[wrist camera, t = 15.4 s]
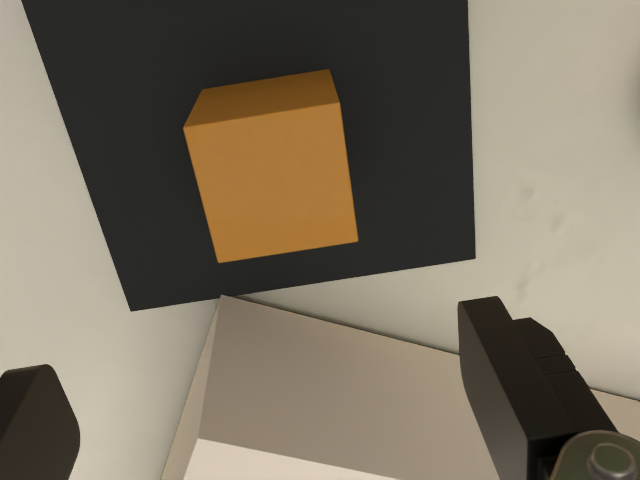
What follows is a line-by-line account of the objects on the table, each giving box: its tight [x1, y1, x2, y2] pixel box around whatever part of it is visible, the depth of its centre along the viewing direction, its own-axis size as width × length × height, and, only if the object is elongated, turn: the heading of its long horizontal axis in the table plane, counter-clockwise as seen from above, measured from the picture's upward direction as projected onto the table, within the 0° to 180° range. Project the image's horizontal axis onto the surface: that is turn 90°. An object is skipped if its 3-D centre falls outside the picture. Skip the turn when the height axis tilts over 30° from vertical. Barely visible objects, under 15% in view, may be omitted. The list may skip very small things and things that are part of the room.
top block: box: [183, 69, 358, 263], centre depth 22 cm, size 5×5×5 cm
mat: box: [21, 0, 476, 311], centre depth 25 cm, size 16×14×1 cm
